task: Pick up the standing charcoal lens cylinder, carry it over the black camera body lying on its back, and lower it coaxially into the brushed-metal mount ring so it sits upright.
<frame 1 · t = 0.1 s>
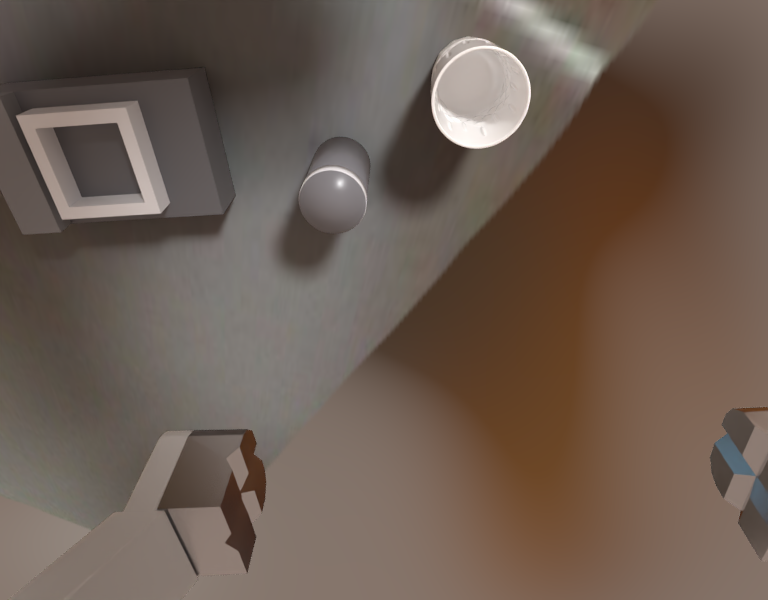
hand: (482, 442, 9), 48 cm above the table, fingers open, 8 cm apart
white cup: (466, 74, 51), on the table
camera body: (126, 142, 55), on the table
lens: (342, 165, 56), on the table
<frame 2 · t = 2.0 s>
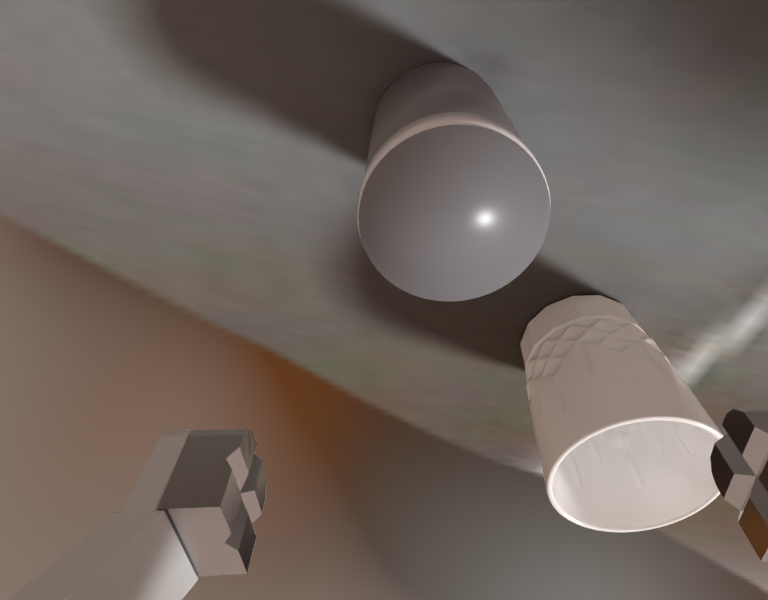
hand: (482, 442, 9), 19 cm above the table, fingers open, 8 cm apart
white cup: (576, 338, 32), on the table
lens: (436, 130, 25), on the table
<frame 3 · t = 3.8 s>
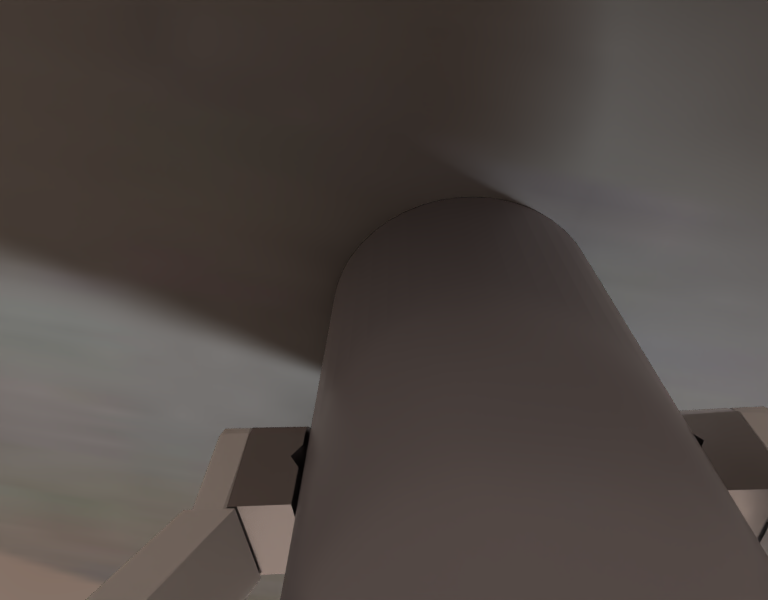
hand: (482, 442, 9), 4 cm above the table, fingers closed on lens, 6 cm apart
lens: (462, 318, 12), on the table, touching gripper
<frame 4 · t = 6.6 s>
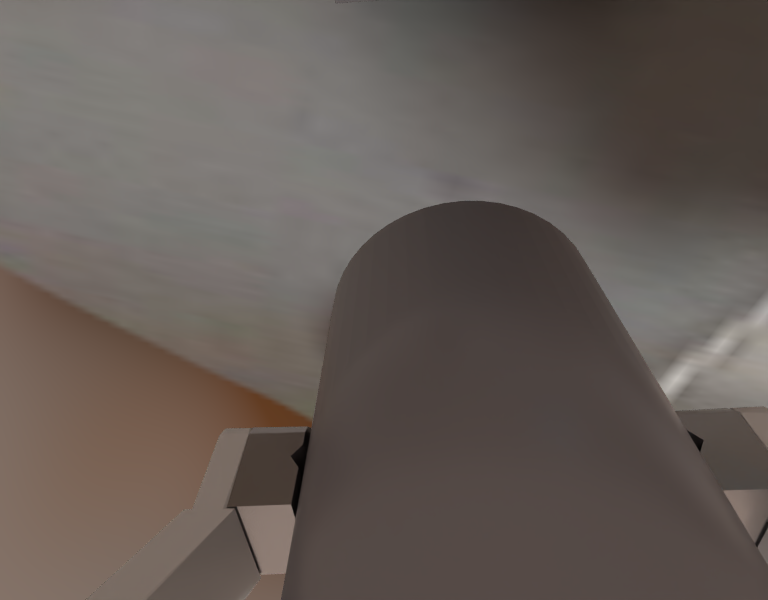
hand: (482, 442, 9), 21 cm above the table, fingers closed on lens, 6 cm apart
lens: (461, 321, 12), point 18 cm above the table, touching gripper
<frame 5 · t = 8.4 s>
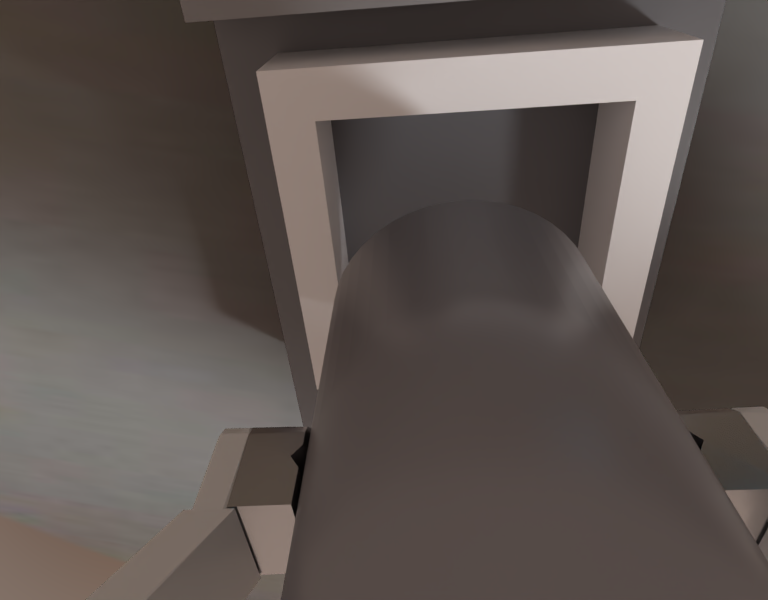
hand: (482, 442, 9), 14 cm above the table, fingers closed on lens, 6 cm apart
camera body: (450, 159, 21), on the table
lens: (461, 320, 12), point 10 cm above the table, touching gripper
when the fingers open (10 cm above the table, at t = 9.6 s): lens drops 1 cm, resting on camera body.
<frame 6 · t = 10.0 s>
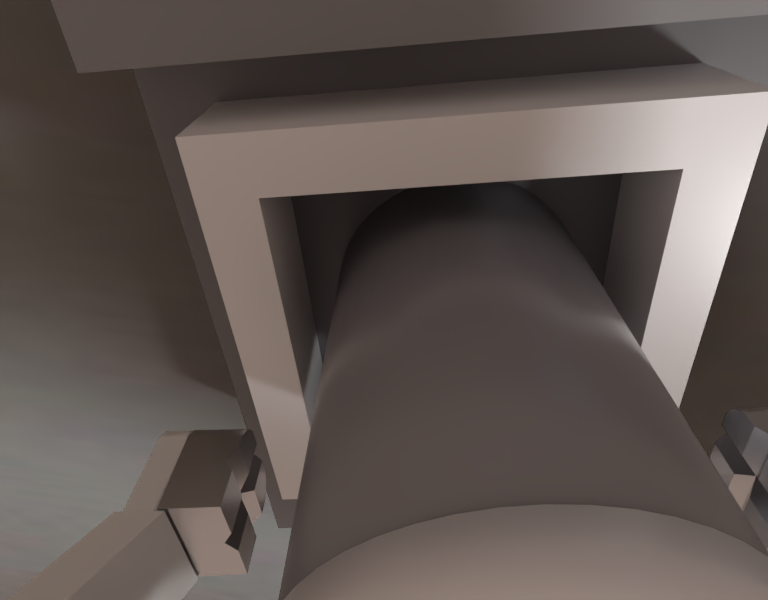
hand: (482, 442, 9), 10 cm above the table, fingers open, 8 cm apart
camera body: (440, 207, 18), on the table
lens: (457, 289, 14), point 5 cm above the table, touching camera body
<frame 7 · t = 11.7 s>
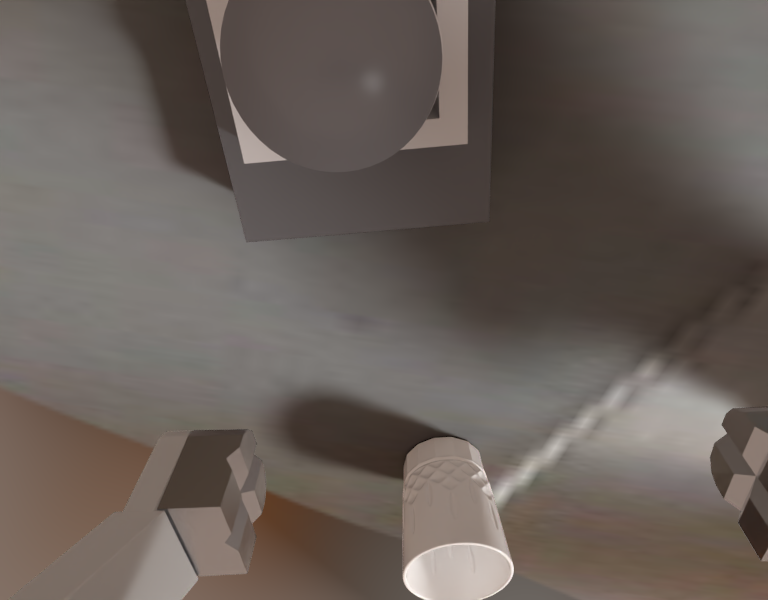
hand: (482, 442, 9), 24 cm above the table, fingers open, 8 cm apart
white cup: (442, 460, 46), on the table
camera body: (347, 11, 27), on the table
lens: (345, 22, 23), point 5 cm above the table, touching camera body
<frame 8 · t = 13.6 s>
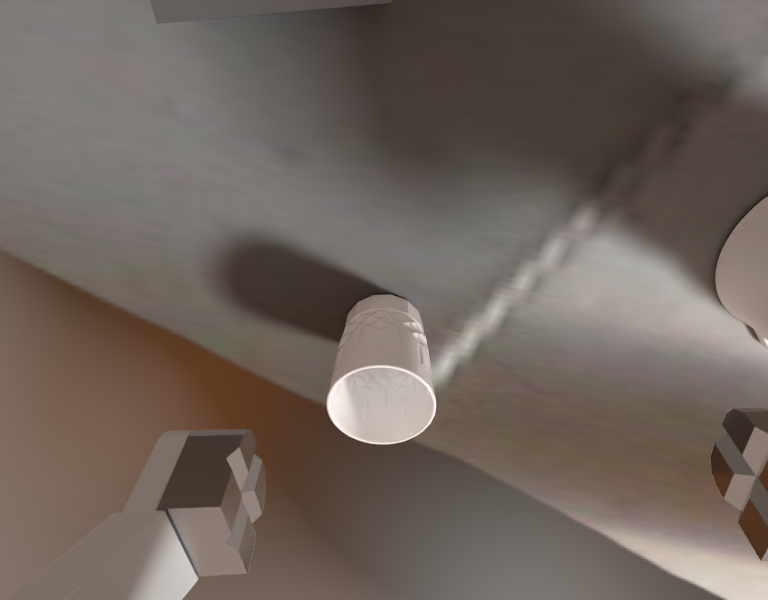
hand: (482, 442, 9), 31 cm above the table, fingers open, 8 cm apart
white cup: (384, 323, 47), on the table
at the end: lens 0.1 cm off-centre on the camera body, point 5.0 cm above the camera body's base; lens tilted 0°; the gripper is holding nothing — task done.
